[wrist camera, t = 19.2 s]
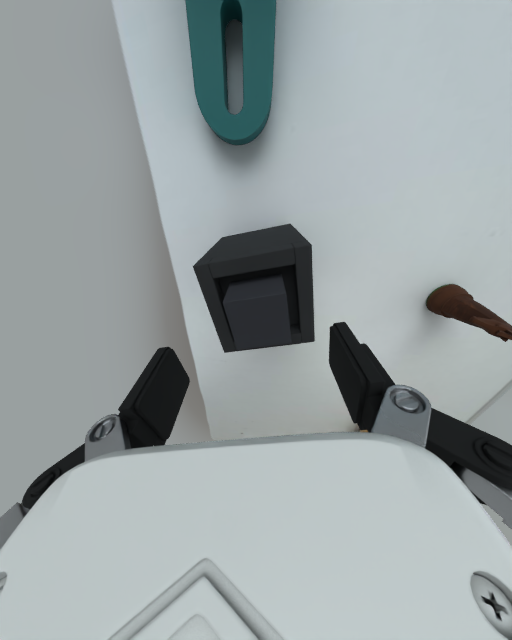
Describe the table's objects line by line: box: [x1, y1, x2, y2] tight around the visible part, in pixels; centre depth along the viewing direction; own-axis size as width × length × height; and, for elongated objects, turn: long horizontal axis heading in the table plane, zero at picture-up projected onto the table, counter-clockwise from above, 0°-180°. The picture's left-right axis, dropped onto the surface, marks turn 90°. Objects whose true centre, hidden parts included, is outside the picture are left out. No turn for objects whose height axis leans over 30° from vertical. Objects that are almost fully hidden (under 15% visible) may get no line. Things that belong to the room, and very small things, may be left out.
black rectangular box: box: [193, 224, 315, 353], centre depth 22 cm, size 9×9×12 cm
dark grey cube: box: [223, 273, 292, 350], centre depth 16 cm, size 4×4×4 cm
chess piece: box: [426, 284, 512, 342], centre depth 25 cm, size 5×5×10 cm
